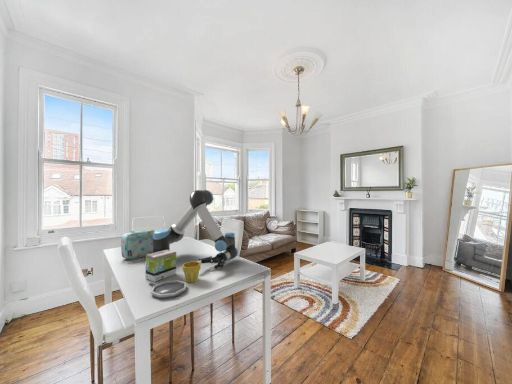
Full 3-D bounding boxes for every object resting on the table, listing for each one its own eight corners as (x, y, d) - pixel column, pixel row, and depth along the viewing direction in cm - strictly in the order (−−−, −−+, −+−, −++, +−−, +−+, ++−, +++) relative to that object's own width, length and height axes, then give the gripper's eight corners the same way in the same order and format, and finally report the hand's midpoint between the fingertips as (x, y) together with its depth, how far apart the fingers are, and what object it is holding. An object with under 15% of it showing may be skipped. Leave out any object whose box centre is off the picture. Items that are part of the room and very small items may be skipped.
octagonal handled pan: (135, 290, 117) (135, 286, 117) (162, 279, 132) (162, 275, 132) (166, 302, 105) (166, 297, 105) (192, 288, 120) (192, 284, 120)
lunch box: (126, 262, 162) (126, 233, 162) (118, 259, 168) (118, 232, 167) (158, 253, 185) (158, 228, 185) (151, 251, 190) (151, 227, 190)
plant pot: (178, 282, 127) (178, 265, 127) (190, 275, 137) (190, 260, 137) (193, 285, 124) (193, 268, 124) (204, 278, 133) (204, 262, 133)
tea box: (155, 282, 127) (154, 257, 127) (145, 278, 133) (144, 254, 132) (176, 274, 140) (176, 251, 140) (166, 270, 145) (166, 248, 145)
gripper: (237, 265, 150) (217, 276, 131) (209, 259, 162) (187, 269, 144) (237, 254, 150) (217, 264, 131) (209, 249, 162) (187, 258, 143)
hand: (201, 267), depth 137 cm, fingers open, 13 cm apart
